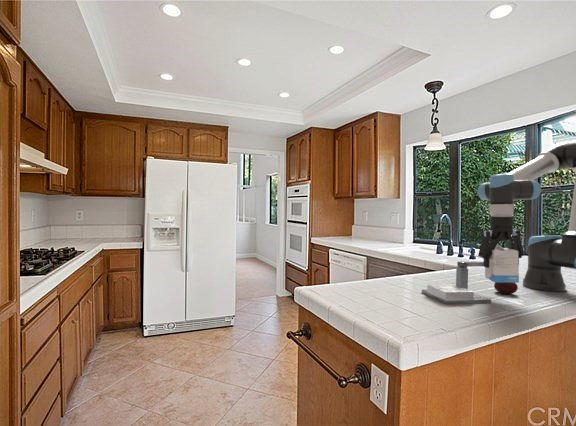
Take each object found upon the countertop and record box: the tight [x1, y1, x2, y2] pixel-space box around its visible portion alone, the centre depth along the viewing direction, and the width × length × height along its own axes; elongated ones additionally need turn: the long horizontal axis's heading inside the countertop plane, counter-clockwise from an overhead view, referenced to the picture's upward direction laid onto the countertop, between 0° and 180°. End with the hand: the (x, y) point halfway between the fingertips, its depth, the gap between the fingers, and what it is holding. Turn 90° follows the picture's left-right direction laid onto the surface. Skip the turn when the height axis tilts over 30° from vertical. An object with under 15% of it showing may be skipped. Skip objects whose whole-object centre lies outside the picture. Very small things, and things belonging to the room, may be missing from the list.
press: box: [421, 266, 492, 305], centre depth 128 cm, size 18×16×10 cm
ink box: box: [484, 244, 520, 284], centre depth 124 cm, size 9×8×13 cm
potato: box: [493, 282, 519, 295], centre depth 136 cm, size 7×8×6 cm
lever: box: [456, 261, 484, 268], centre depth 135 cm, size 16×4×3 cm, turn 98°
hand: (501, 275), depth 124 cm, fingers closed on ink box, 10 cm apart
